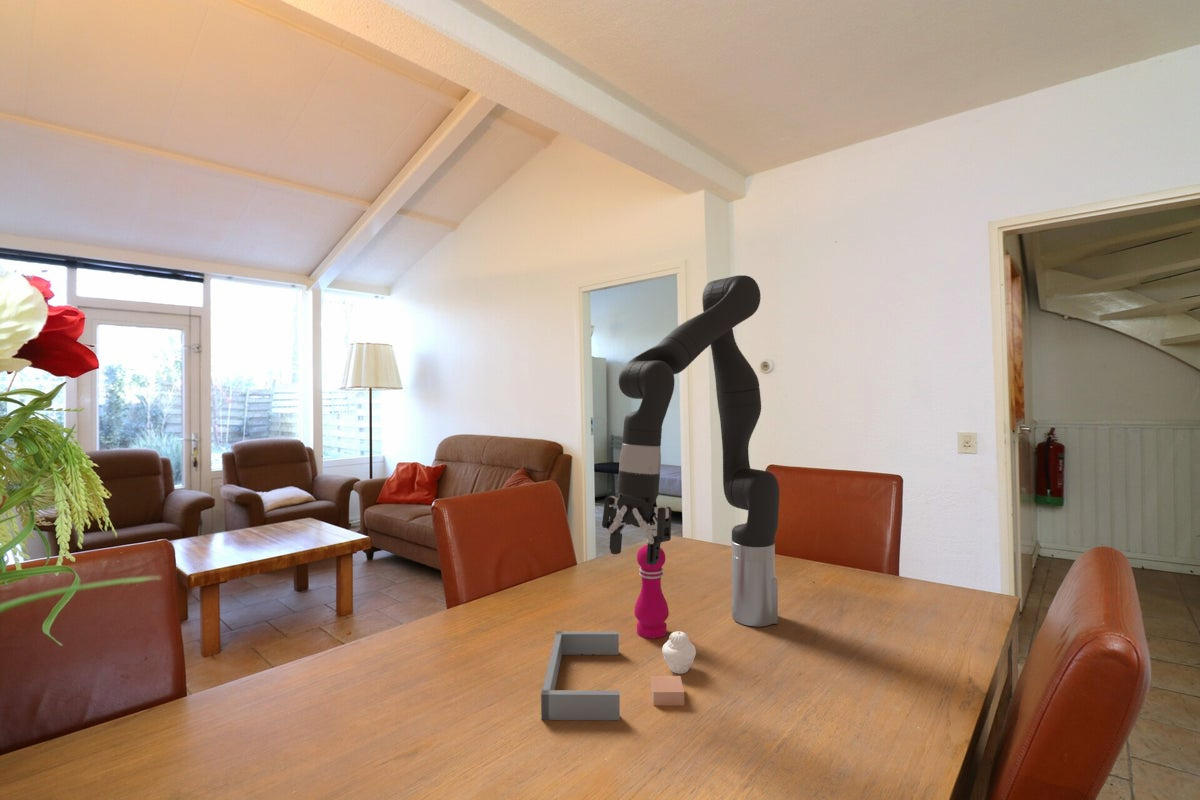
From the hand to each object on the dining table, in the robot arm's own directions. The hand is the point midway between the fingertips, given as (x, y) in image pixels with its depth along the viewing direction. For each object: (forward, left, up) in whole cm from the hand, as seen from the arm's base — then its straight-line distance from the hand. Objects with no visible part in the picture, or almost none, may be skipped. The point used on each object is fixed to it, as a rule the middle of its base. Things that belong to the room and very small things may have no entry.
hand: (632, 558), depth 101 cm
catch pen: (+9, +4, -21) cm, 23 cm away
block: (-5, +9, -21) cm, 23 cm away
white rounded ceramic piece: (-8, 0, -21) cm, 22 cm away
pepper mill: (-4, -16, -21) cm, 26 cm away
